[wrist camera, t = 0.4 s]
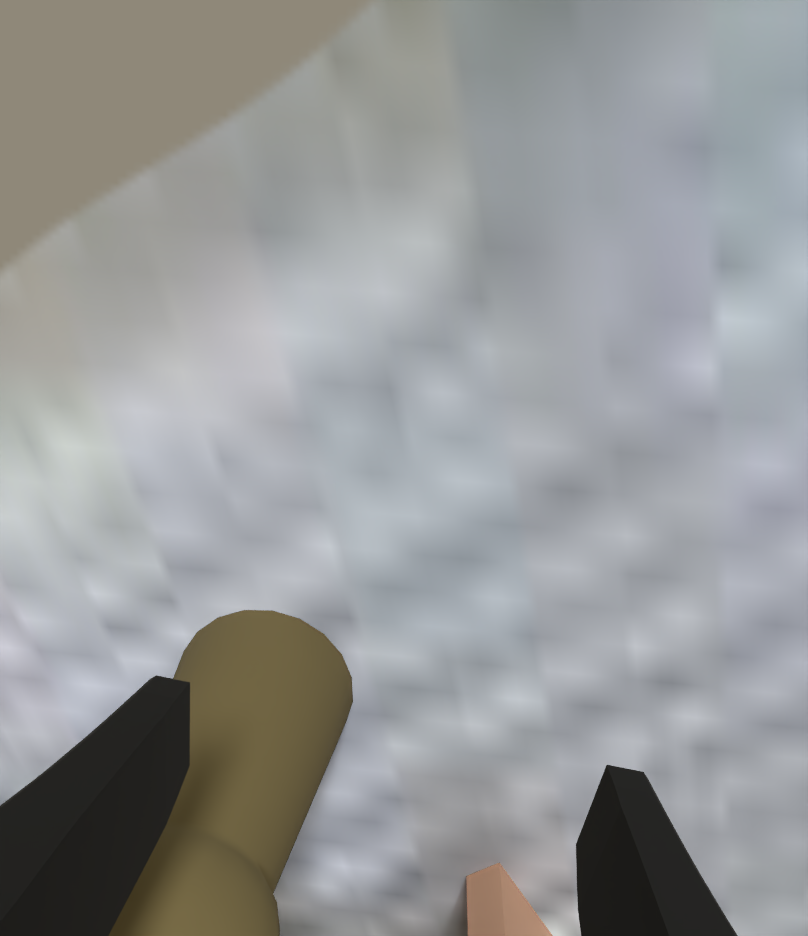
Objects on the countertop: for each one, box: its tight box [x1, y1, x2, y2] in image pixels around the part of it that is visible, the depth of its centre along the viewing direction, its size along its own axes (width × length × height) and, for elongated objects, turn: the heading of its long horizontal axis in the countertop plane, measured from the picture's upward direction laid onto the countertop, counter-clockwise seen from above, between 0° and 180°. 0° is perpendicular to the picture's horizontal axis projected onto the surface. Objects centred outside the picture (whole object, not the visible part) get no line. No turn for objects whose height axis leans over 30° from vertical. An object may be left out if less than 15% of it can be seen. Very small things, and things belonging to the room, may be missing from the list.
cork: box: [109, 610, 353, 936], centre depth 19 cm, size 6×6×11 cm
